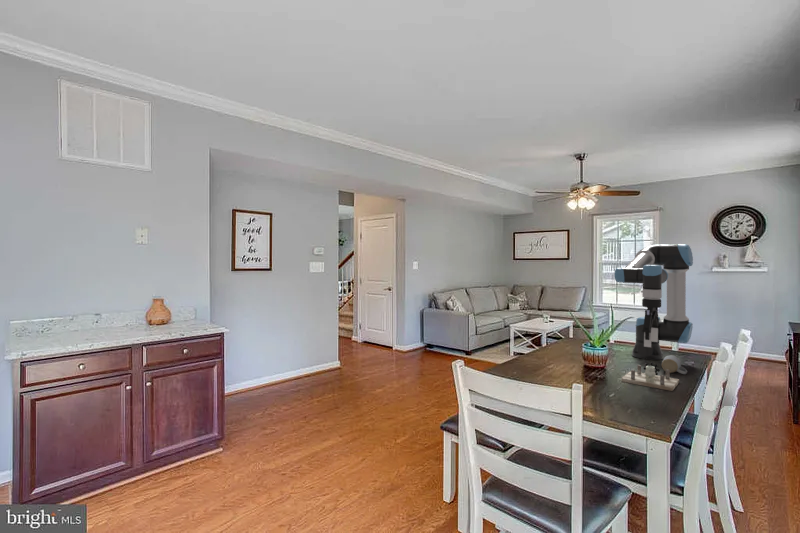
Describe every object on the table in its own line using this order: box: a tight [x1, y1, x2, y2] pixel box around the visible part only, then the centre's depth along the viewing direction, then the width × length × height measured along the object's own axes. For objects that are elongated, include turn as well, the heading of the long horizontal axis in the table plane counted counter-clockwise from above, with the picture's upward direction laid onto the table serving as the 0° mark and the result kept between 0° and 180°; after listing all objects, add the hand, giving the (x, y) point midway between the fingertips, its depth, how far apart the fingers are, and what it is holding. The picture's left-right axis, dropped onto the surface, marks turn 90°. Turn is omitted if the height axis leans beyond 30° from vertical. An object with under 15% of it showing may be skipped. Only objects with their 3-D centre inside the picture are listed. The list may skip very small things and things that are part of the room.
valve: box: [643, 361, 661, 382], centre depth 190 cm, size 7×7×12 cm
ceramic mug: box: [660, 354, 688, 375], centre depth 206 cm, size 11×8×8 cm
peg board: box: [621, 364, 680, 392], centre depth 190 cm, size 16×20×6 cm
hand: (651, 344), depth 190 cm, fingers open, 13 cm apart
